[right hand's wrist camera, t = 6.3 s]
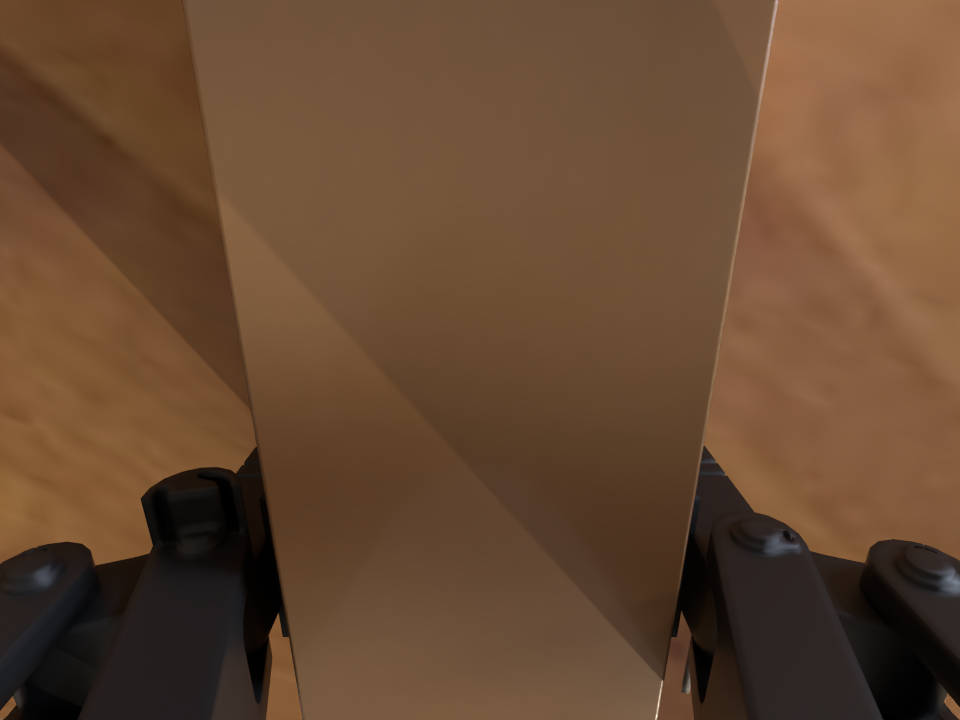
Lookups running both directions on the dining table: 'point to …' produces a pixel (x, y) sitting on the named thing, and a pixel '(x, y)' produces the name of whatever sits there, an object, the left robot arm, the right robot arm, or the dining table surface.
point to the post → (480, 329)
